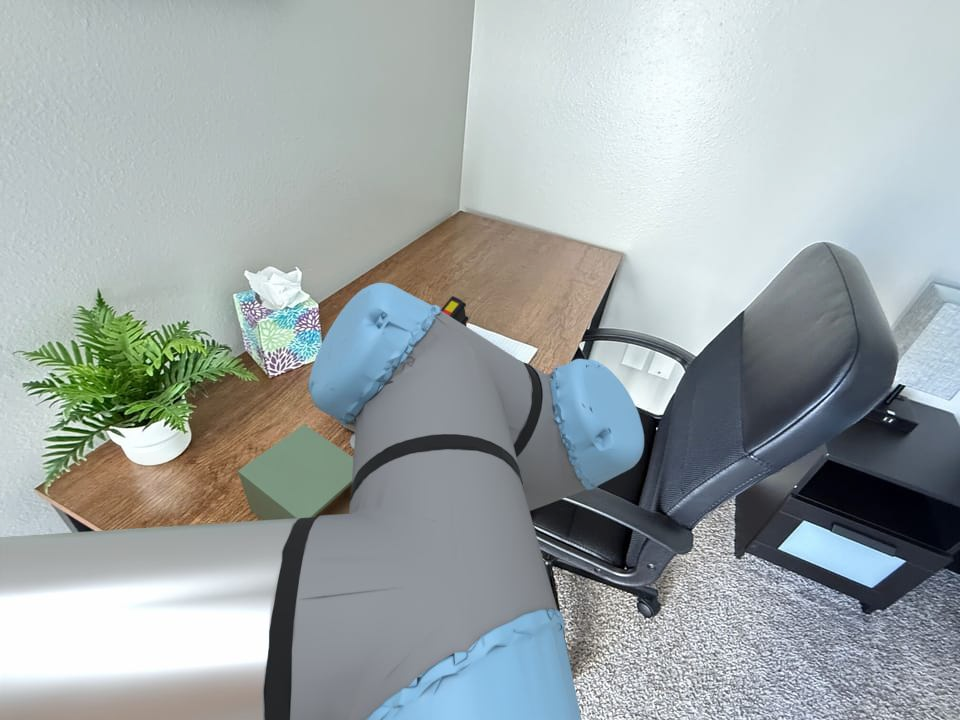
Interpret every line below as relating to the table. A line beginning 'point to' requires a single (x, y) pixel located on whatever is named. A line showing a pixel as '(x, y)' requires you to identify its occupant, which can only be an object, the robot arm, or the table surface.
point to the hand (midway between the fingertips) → (328, 553)
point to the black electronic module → (456, 310)
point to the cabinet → (296, 476)
